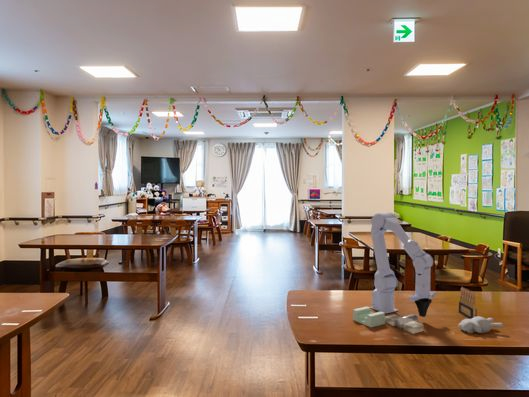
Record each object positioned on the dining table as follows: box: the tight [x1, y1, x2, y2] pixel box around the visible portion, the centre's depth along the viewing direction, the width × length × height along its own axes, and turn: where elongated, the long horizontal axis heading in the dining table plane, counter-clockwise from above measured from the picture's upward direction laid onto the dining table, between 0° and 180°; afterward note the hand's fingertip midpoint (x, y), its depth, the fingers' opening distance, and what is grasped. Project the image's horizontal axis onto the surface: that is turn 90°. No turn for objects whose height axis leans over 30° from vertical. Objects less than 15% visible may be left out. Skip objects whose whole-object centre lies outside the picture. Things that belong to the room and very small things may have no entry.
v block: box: [352, 306, 386, 328], centre depth 161 cm, size 10×8×4 cm
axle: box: [395, 313, 419, 329], centre depth 157 cm, size 4×9×4 cm, turn 121°
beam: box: [385, 314, 424, 335], centre depth 156 cm, size 14×6×2 cm, turn 31°
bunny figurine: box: [458, 315, 504, 334], centre depth 152 cm, size 10×5×15 cm
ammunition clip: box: [458, 286, 478, 319], centre depth 168 cm, size 11×2×12 cm, turn 3°
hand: (422, 316), depth 162 cm, fingers closed
